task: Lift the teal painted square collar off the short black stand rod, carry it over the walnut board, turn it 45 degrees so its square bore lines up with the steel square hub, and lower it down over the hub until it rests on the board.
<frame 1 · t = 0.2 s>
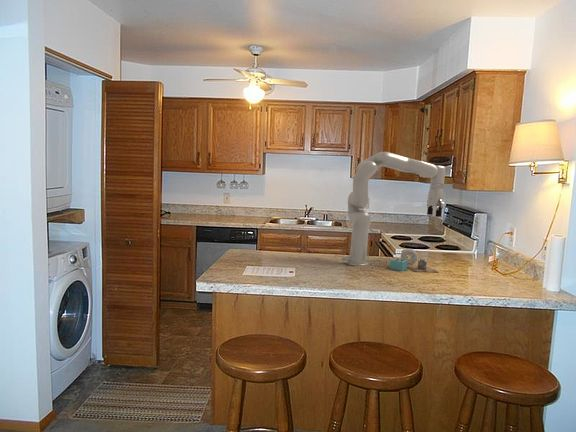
hand: (433, 215, 259), 31 cm above the worktop, tool pointing down, fingers open, 9 cm apart
stand: (398, 270, 245), on the worktop
collar: (398, 269, 244), point 1 cm above the worktop, touching stand
hub board: (421, 271, 247), on the worktop
donut: (408, 265, 264), on the worktop
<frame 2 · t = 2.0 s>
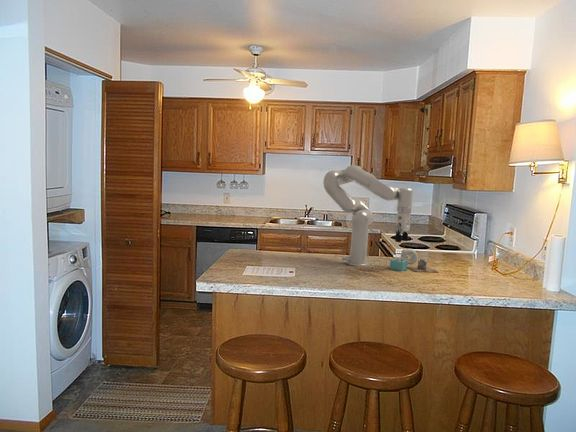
hand: (401, 241, 243), 17 cm above the worktop, tool pointing down, fingers open, 9 cm apart
nothing on the worktop moved.
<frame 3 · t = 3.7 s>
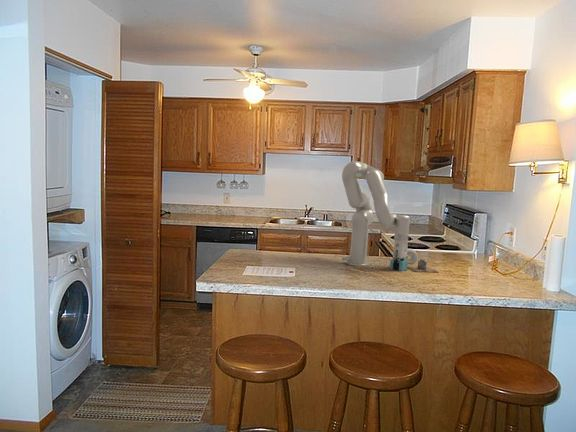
hand: (398, 268, 244), 1 cm above the worktop, tool pointing down, fingers closed on collar, 7 cm apart
collar: (398, 269, 244), point 1 cm above the worktop, touching gripper, stand
everything else where it was.
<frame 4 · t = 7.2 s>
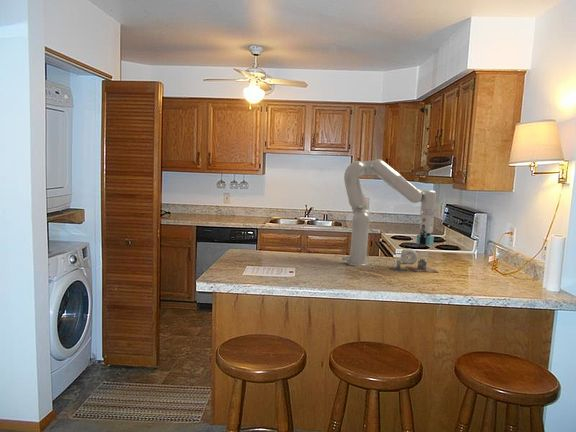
hand: (424, 243, 245), 16 cm above the worktop, tool pointing down, fingers closed on collar, 7 cm apart
collar: (424, 244, 245), point 16 cm above the worktop, touching gripper
everything else where it was.
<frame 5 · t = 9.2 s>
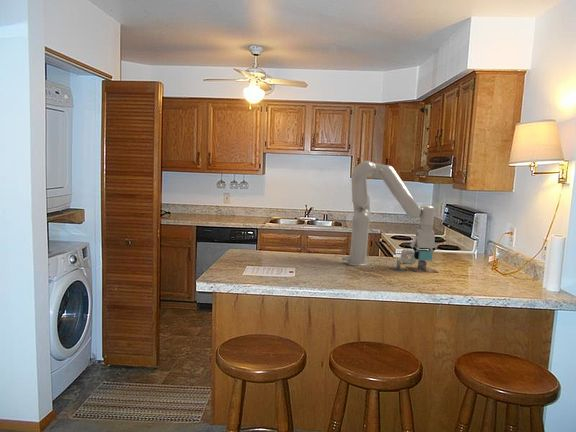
hand: (422, 258, 246), 7 cm above the worktop, tool pointing down, fingers closed on collar, 7 cm apart
collar: (422, 259, 246), point 7 cm above the worktop, touching gripper
everything else where it was.
when the fingers open (2 cm above the worktop, at t = 10.8 s): collar stays where it is, resting on hub board.
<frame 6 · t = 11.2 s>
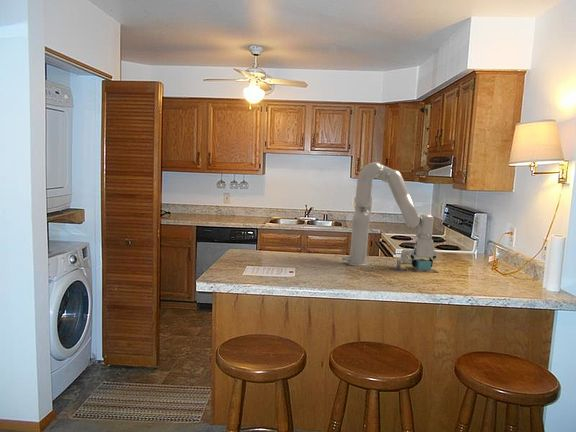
hand: (421, 266, 247), 3 cm above the worktop, tool pointing down, fingers open, 9 cm apart
collar: (421, 268, 247), point 1 cm above the worktop, touching hub board
everything else where it was.
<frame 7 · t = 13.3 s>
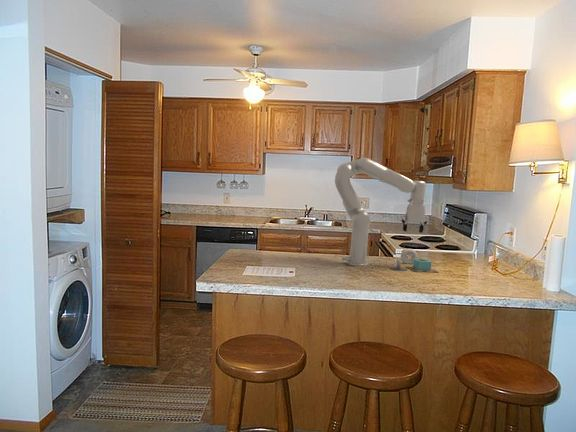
hand: (412, 231, 253), 21 cm above the worktop, tool pointing down, fingers open, 9 cm apart
nothing on the worktop moved.
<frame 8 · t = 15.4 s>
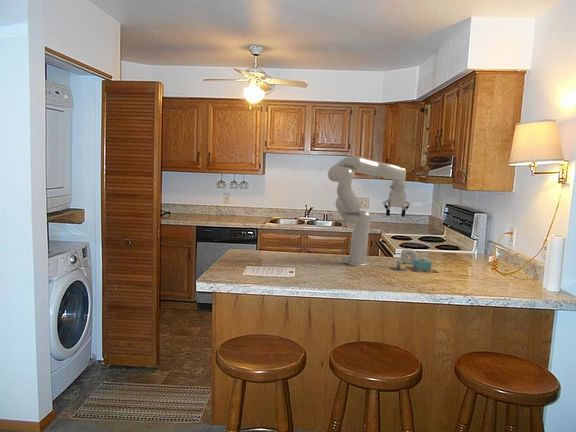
hand: (395, 216, 266), 28 cm above the worktop, tool pointing down, fingers open, 9 cm apart
nothing on the worktop moved.
at the end: collar 0.0 cm off-centre on the hub board, point 1.5 cm above the hub board's base; collar tilted 0°; the gripper is holding nothing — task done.
